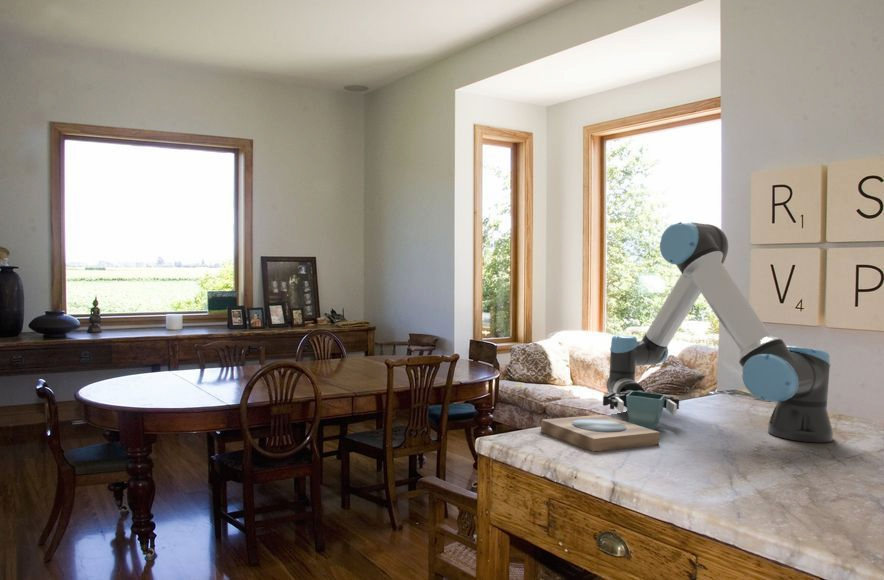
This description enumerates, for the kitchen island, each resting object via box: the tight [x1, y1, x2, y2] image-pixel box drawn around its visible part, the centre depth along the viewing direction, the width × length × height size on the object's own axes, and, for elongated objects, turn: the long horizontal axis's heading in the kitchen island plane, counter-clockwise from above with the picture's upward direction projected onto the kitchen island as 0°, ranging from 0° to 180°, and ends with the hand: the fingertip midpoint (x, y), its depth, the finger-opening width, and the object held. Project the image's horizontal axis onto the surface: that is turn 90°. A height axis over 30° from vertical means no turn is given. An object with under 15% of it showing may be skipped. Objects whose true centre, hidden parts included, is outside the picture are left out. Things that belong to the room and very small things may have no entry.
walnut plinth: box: [540, 414, 661, 452], centre depth 170 cm, size 20×20×3 cm
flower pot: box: [626, 391, 666, 430], centre depth 182 cm, size 9×9×9 cm
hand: (648, 408), depth 179 cm, fingers open, 13 cm apart
